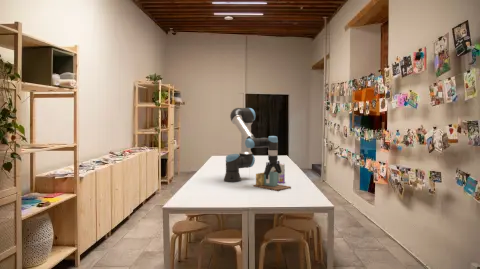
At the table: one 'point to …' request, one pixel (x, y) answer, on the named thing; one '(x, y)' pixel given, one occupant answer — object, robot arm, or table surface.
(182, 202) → the table surface
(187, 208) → the table surface
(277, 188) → the board
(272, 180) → the stub
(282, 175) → the candy box
